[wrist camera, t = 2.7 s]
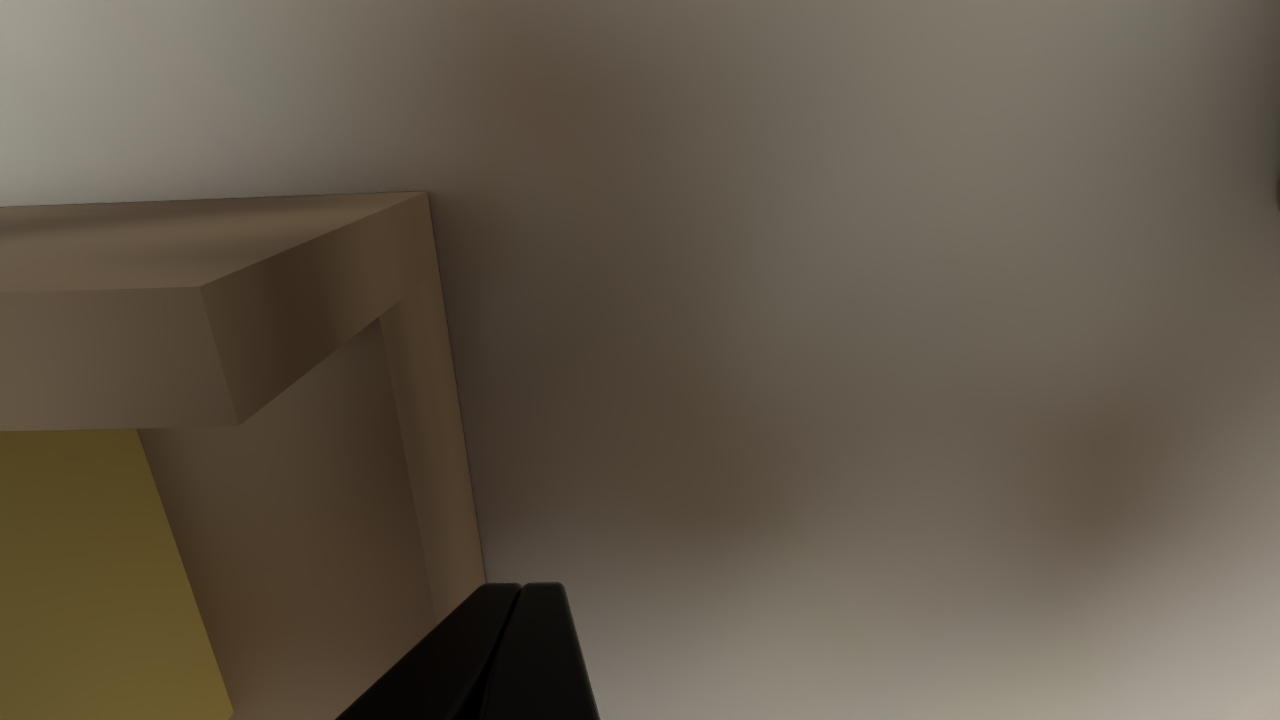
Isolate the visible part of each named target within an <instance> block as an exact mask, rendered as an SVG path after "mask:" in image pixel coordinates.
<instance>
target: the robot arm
mask: <svg viewBox="0 0 1280 720" xmlns="http://www.w3.org/2000/svg"><path fill="white" fill-rule="evenodd" d="M335 720H600V717H599V714H598V710H597V706H596V702H595V699H594V695H593V691H592V688H591V684H590V680H589V677H588V673H587V669H586V665H585V662H584V658H583V654H582V651H581V647H580V643H579V640H578V636H577V632H576V628H575V625H574V621H573V617H572V614H571V610H570V606H569V603H568V599H567V595H566V592H565V588H564V586H563V585H562V584H561V583H558V582H538V583H527V584H526V585H524V586H523V587H522V586H521V585H520V584H518V583H486V584H483V585H481V586H479V587H478V588H477V589H476V590H475V591H474V592H473V593H471V594H470V595H469V596H468V597H467V598H466V599H465V600H464V601H463V602H462V603H461V604H459V605H458V606H457V607H456V608H455V609H454V610H453V611H452V612H451V613H450V614H449V615H448V616H446V617H445V618H444V619H443V620H442V621H441V622H440V623H439V624H438V625H437V626H436V627H435V628H433V629H432V630H431V631H430V632H429V633H428V634H427V635H426V636H425V637H424V638H423V639H421V640H420V641H419V642H418V643H417V644H416V645H415V646H414V647H413V648H412V649H411V650H410V651H408V652H407V653H406V654H405V655H404V656H403V657H402V658H401V659H400V660H399V661H398V662H396V663H395V664H394V665H393V666H392V667H391V668H390V669H389V670H388V671H387V672H386V673H385V674H383V675H382V676H381V677H380V678H379V679H378V680H377V681H376V682H375V683H374V684H373V685H371V686H370V687H369V688H368V689H367V690H366V691H365V692H364V693H363V694H362V695H361V696H360V697H358V698H357V699H356V700H355V701H354V702H353V703H352V704H351V705H350V706H349V707H348V708H347V709H345V710H344V711H343V712H342V713H341V714H340V715H339V716H338V717H337V718H336V719H335Z"/></svg>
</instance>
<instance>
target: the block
mask: <svg viewBox="0 0 1280 720" xmlns="http://www.w3.org/2000/svg"><path fill="white" fill-rule="evenodd" d="M233 713H234V711H233V708H232V705H231V702H230V699H229V697H228V694H227V691H226V688H225V685H224V682H223V679H222V676H221V673H220V670H219V667H218V665H217V662H216V659H215V656H214V653H213V650H212V647H211V644H210V641H209V638H208V636H207V633H206V630H205V627H204V624H203V621H202V618H201V615H200V612H199V609H198V606H197V604H196V601H195V598H194V595H193V592H192V589H191V586H190V583H189V580H188V577H187V575H186V572H185V569H184V566H183V563H182V560H181V557H180V554H179V551H178V548H177V545H176V543H175V540H174V537H173V534H172V531H171V528H170V525H169V522H168V519H167V516H166V513H165V511H164V508H163V505H162V502H161V499H160V496H159V493H158V490H157V487H156V484H155V482H154V479H153V476H152V473H151V470H150V467H149V464H148V461H147V458H146V455H145V452H144V450H143V447H142V444H141V441H140V438H139V435H138V432H137V429H136V428H131V429H83V430H35V431H0V720H229V718H230V717H231V716H232V714H233Z"/></svg>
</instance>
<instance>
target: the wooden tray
mask: <svg viewBox="0 0 1280 720" xmlns="http://www.w3.org/2000/svg"><path fill="white" fill-rule="evenodd" d="M131 428H136V429H137V432H138V435H139V438H140V441H141V444H142V447H143V450H144V452H145V455H146V458H147V461H148V464H149V467H150V470H151V473H152V476H153V479H154V482H155V484H156V487H157V490H158V493H159V496H160V499H161V502H162V505H163V508H164V511H165V513H166V516H167V519H168V522H169V525H170V528H171V531H172V534H173V537H174V540H175V543H176V545H177V548H178V551H179V554H180V557H181V560H182V563H183V566H184V569H185V572H186V575H187V577H188V580H189V583H190V586H191V589H192V592H193V595H194V598H195V601H196V604H197V606H198V609H199V612H200V615H201V618H202V621H203V624H204V627H205V630H206V633H207V636H208V638H209V641H210V644H211V647H212V650H213V653H214V656H215V659H216V662H217V665H218V667H219V670H220V673H221V676H222V679H223V682H224V685H225V688H226V691H227V694H228V697H229V699H230V702H231V705H232V708H233V711H234V713H233V714H232V716H231V717H230V718H229V720H335V719H336V718H337V717H338V716H339V715H340V714H341V713H342V712H343V711H344V710H345V709H347V708H348V707H349V706H350V705H351V704H352V703H353V702H354V701H355V700H356V699H357V698H358V697H360V696H361V695H362V694H363V693H364V692H365V691H366V690H367V689H368V688H369V687H370V686H371V685H373V684H374V683H375V682H376V681H377V680H378V679H379V678H380V677H381V676H382V675H383V674H385V673H386V672H387V671H388V670H389V669H390V668H391V667H392V666H393V665H394V664H395V663H396V662H398V661H399V660H400V659H401V658H402V657H403V656H404V655H405V654H406V653H407V652H408V651H410V650H411V649H412V648H413V647H414V646H415V645H416V644H417V643H418V642H419V641H420V640H421V639H423V638H424V637H425V636H426V635H427V634H428V633H429V632H430V631H431V630H432V629H433V628H435V627H436V626H437V625H438V624H439V623H440V622H441V621H442V620H443V619H444V618H445V617H446V616H448V615H449V614H450V613H451V612H452V611H453V610H454V609H455V608H456V607H457V606H458V605H459V604H461V603H462V602H463V601H464V600H465V599H466V598H467V597H468V596H469V595H470V594H471V593H473V592H474V591H475V590H476V589H477V588H478V587H479V586H481V585H483V584H486V579H485V572H484V565H483V559H482V552H481V545H480V539H479V532H478V525H477V519H476V512H475V506H474V499H473V492H472V486H471V479H470V472H469V466H468V459H467V452H466V446H465V439H464V432H463V426H462V419H461V413H460V406H459V399H458V393H457V386H456V379H455V373H454V366H453V359H452V353H451V346H450V339H449V333H448V326H447V319H446V313H445V306H444V300H443V293H442V286H441V280H440V273H439V266H438V260H437V253H436V246H435V240H434V233H433V226H432V220H431V213H430V207H429V200H428V193H427V191H418V192H391V193H364V194H338V195H311V196H284V197H257V198H230V199H204V200H177V201H150V202H123V203H96V204H70V205H43V206H16V207H0V431H35V430H83V429H131Z"/></svg>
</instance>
